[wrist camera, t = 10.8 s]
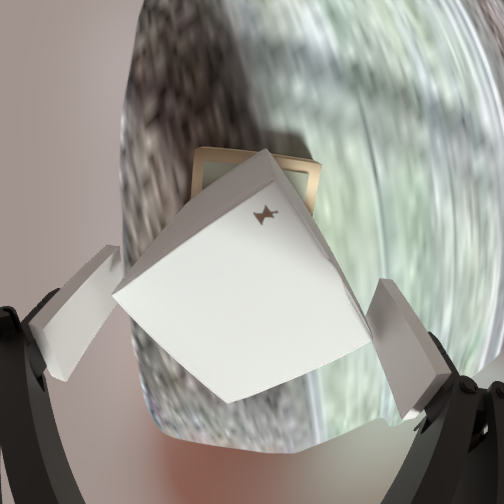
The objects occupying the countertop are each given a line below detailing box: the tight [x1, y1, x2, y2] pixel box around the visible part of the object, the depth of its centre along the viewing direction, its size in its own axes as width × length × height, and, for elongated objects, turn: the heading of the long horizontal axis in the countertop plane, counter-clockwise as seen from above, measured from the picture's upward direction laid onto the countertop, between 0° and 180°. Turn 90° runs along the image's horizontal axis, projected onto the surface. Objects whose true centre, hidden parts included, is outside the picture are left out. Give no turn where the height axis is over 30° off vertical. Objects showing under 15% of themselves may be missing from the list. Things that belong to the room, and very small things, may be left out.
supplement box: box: [111, 148, 373, 403], centre depth 18 cm, size 9×9×15 cm
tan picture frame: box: [191, 146, 322, 216], centre depth 27 cm, size 11×11×4 cm
